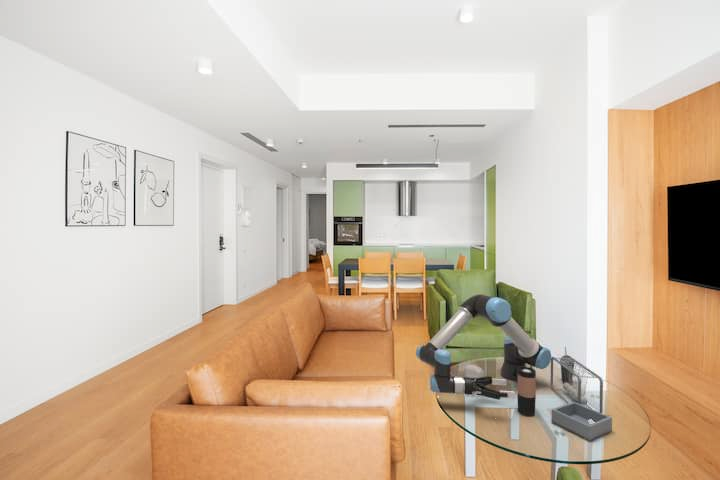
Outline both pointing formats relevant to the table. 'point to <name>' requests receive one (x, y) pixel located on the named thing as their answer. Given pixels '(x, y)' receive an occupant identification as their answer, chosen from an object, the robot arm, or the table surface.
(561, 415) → the crate
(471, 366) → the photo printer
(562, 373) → the beverage cup
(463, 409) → the table surface
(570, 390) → the newton's cradle
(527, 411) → the travel mug
